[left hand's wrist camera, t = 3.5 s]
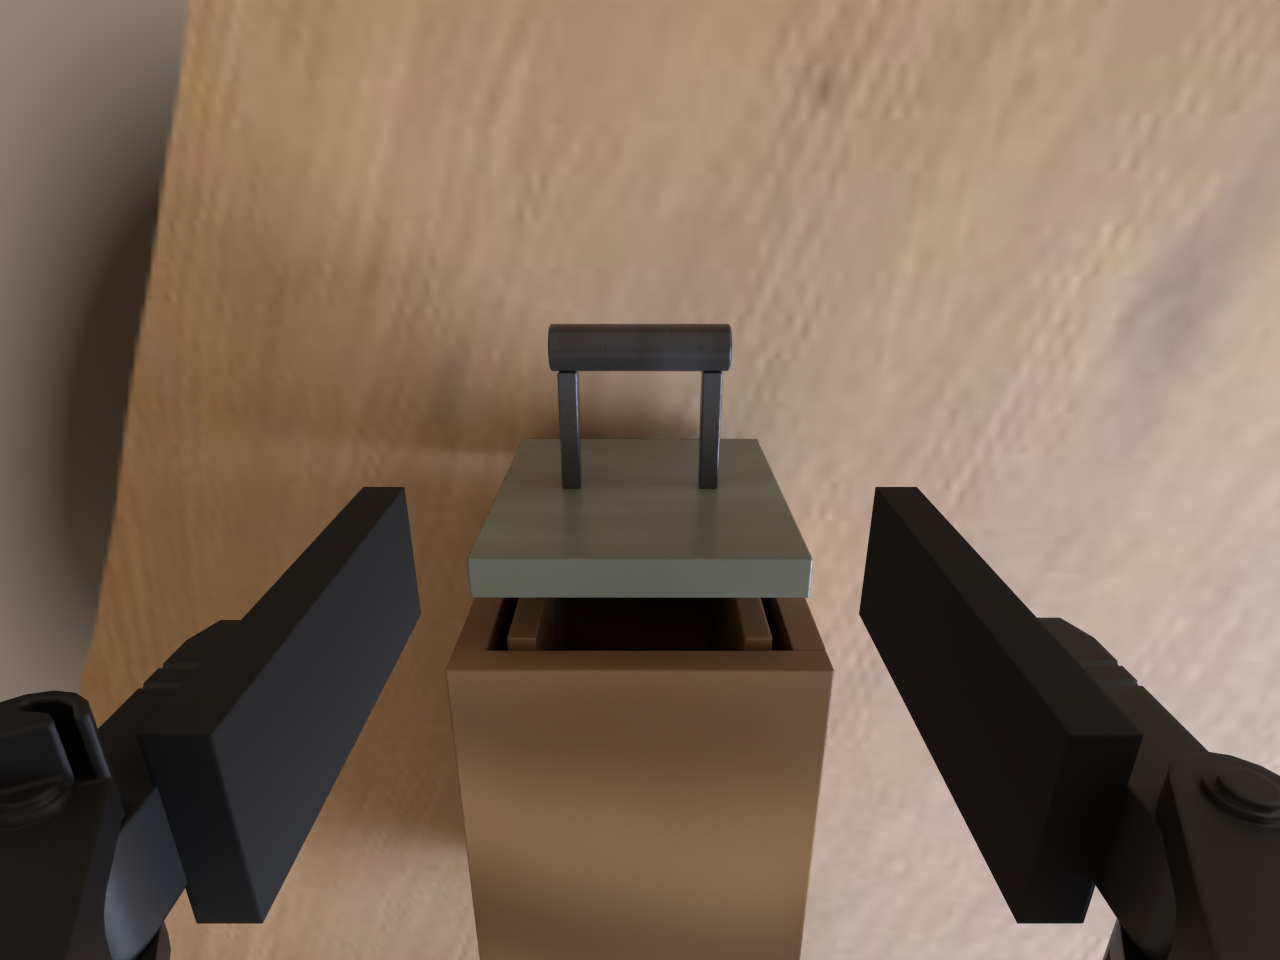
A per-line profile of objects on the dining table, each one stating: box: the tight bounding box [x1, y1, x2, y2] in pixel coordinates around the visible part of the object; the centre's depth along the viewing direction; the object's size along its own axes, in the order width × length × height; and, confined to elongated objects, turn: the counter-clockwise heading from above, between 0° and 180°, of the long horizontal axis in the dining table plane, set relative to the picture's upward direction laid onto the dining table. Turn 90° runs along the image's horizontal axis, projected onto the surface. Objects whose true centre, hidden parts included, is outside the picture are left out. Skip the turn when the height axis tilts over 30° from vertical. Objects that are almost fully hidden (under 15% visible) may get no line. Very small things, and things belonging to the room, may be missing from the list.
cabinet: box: [446, 598, 834, 960], centre depth 28 cm, size 20×10×12 cm, turn 0°
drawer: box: [467, 324, 813, 651], centre depth 26 cm, size 24×9×10 cm, turn 0°
